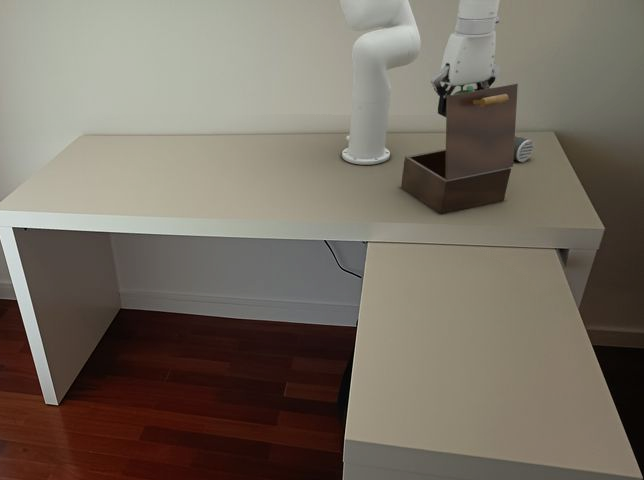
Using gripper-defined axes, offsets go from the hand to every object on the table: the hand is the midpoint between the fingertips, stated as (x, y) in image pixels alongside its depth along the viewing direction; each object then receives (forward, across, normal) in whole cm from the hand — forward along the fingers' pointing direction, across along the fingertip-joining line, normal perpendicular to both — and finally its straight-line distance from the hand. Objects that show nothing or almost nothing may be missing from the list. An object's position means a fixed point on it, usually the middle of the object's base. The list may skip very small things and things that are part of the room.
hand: (459, 111), depth 144 cm
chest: (+19, 0, +2) cm, 19 cm away
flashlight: (+19, -26, -15) cm, 36 cm away
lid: (+2, 0, +7) cm, 8 cm away
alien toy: (+4, 0, 0) cm, 4 cm away
